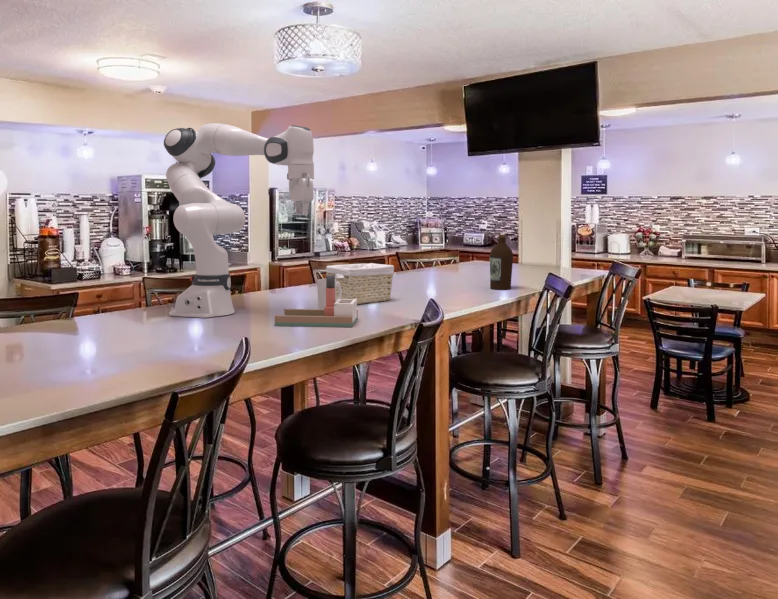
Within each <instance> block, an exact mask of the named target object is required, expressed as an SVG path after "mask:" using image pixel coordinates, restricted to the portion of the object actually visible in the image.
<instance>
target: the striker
mask: <svg viewBox="0 0 778 599" xmlns="http://www.w3.org/2000/svg"><path fill="white" fill-rule="evenodd" d="M325 279H326V307H325V308H324V316H334V303H335V276H334V275H326V276H325Z"/></svg>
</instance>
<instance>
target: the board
mask: <svg viewBox="0 0 778 599" xmlns="http://www.w3.org/2000/svg"><path fill="white" fill-rule="evenodd" d="M358 312H359V311H358V304H357V299H339V300H337V301H336V302H335V303H334V316H324V309H318V308H316V309H312V308H310V309H309V308H307V309H306V308H285V309H284V311H283V313H284V315H278V314H277V315H274V327H312V328H313V327H314V328H315V327H318V328H320V327H322V328H353V327H354V325H355V323H356V322H357V321H358V319H359V316H358V315H359V313H358Z"/></svg>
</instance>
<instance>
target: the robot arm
mask: <svg viewBox="0 0 778 599" xmlns="http://www.w3.org/2000/svg"><path fill="white" fill-rule="evenodd" d="M313 136H314V135H313V132H312V131H311V129H310V128H309V127H307V126H300V125H296V124H294V125H292V124H291V125H289V126H288V128H287V129H286V130H284V131H283V132H281V133H279V134H277V135H275V136H270V137H269V138H267V137H265V136H261V135H258V134H255V133H253V132H250V131H248V130H245V129H243V128H241V127H238V126H234V125H232V124H226V123H219V122H217V123H216V122H211V123H205V124H203V125H201V127H200V128H199V129H198V131H195V129H193V128H192V127H187V128H184V127H178V128H174V129H171V130H170V131H169V132H167V133H166V135H165V137H164V139H163V147H164V149H165V150H166V152H167V153H168V154H169V155H170V156H172V157H173V158H174V160H175V163H172V164H171V165H169V166H168V168H167V169H166V173H165V177H166V181H167V184H168V187H169V188H170V190H171V192H172V193H173V195H174V197H175V198H176V200H177V201H178V202H179V204H180V205H179V206H177V207H176V209H175V211H174V213H173V224H174V227H175V228H176V230H177V231H178V232H179V233H180V234H181V235H183V236H184V237H185V238H186V239H187V240H188V242H189V243H190V244H191V246H192V250H193V253H194V254H193V255H194V259H195V260H194V261H195V270H196V271H195V274H194V275H192V276H191V277H189V281H190V282H191V285H190V286H189V287H188V288H187V289H185V290H184V291H182V292H181V293H180V294H179V295H178V296H177V298H176V301H175V304H174V305H175V306H174V309H171V310H170V311H169V312H168V316H170V317H171V316H172V317H182V318H183V317H184V318H187V317H188V318H202V319H205V318H207V319H208V318H212V317H222V316H228V315H232V314H235V312H236V311H235V308H234V304H233V300H232V295H231V285H232V283H231V282H232V281H231V274H230V272H229V271H230V270H229V269H230V268H229V253H228V252H227V250H226V249H225V248H224V247H222V246H221V245H218V244H217V243H216V241H215V238H214V236H215V235H230V234H234V233H238V232H240V231H242V229H243V228H244V226H245V223H246V215H245V212H244V210H243V208H242V207H241V206H240V205H238V204H235V203H231V202H230V201H227V200H225V199H224V198H223V197H220V196H219V195H217V194H216V193H215V192H213V191H212V190H210V189H209V188H208V187H207V185H206V184H205V183H204V181H203V180H202V178H205V177H207V176H209V174H211V173H212V172H213V170H214V168H215V167H216V160H215V157H214V155H213V153H216V154H219V155H222V156H229V157H241V156H264V157H265V159H266V161H268V163H270V164H273V165H277V166H287V174H286V179H287V181H288V189H289V190H288V191H289V198H290V201H291V202H294V203H293V204H294V207H295V214H296V215H304V216H305V215H306V216H308V215H309V209H310V208H309V207H310V202H312V201H314V196H315V195H314V181H313V180H315V164H314V158H313V157H314V152H315V151H314V149H315V148H314V138H313Z"/></svg>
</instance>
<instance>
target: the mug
mask: <svg viewBox="0 0 778 599" xmlns="http://www.w3.org/2000/svg"><path fill="white" fill-rule="evenodd" d="M316 281H317V282H316V284H317V288H316V289H317V309H324V308H325V307H326V278H319V279H317V280H316ZM336 286H337V287H338V290H339V294H338V298H337V299H336ZM341 294H342V290H341V286H340V283H339V282H336V279H335V302H336V301H337V300H339V299H341Z"/></svg>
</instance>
